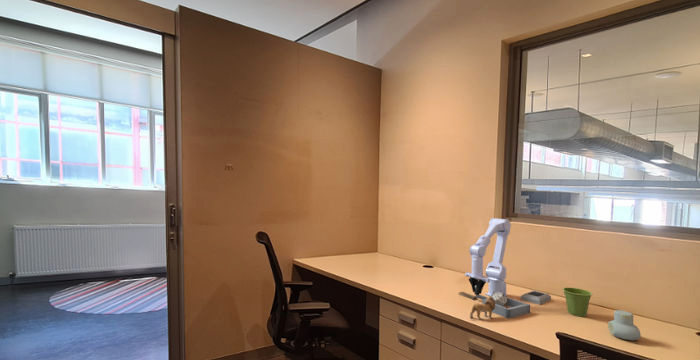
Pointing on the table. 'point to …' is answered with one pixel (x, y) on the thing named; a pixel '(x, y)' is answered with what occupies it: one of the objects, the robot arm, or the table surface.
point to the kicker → (478, 294)
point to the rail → (467, 295)
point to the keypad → (536, 297)
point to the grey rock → (500, 299)
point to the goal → (514, 311)
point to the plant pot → (577, 301)
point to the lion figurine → (484, 308)
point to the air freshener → (624, 326)
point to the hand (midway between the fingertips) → (477, 292)
